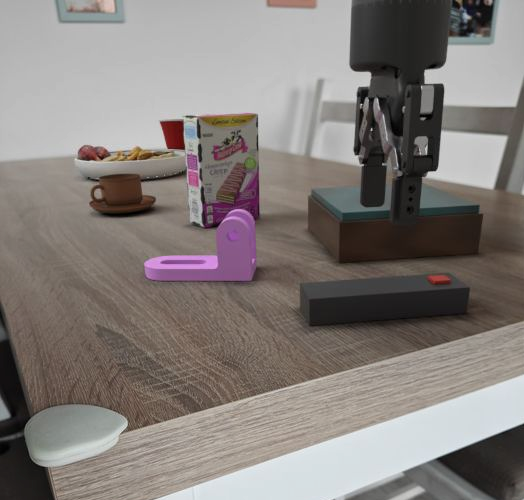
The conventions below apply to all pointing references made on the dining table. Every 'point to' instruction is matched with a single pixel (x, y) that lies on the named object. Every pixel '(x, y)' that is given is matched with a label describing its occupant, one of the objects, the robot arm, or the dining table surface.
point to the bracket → (214, 266)
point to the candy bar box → (221, 166)
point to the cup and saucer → (120, 194)
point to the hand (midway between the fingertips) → (386, 215)
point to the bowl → (130, 162)
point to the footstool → (386, 234)
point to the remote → (383, 298)
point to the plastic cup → (173, 133)
